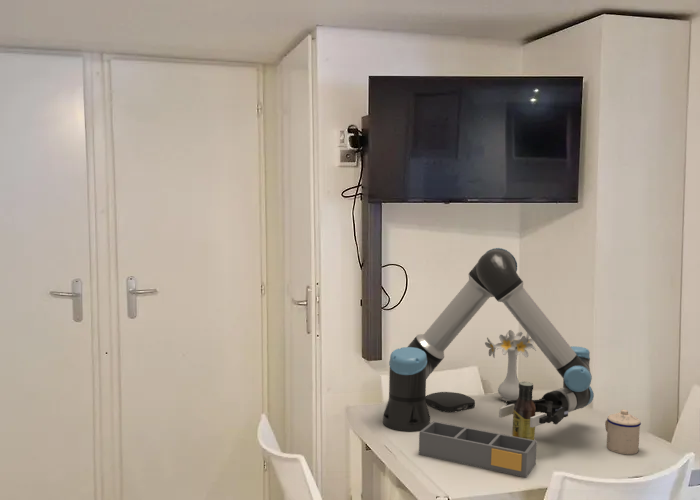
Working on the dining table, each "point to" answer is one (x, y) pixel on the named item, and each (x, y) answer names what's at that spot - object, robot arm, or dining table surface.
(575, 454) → the dining table surface
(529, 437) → the sauce bottle
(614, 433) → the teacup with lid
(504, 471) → the caddy
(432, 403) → the media streaming box
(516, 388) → the flower vase
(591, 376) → the robot arm
